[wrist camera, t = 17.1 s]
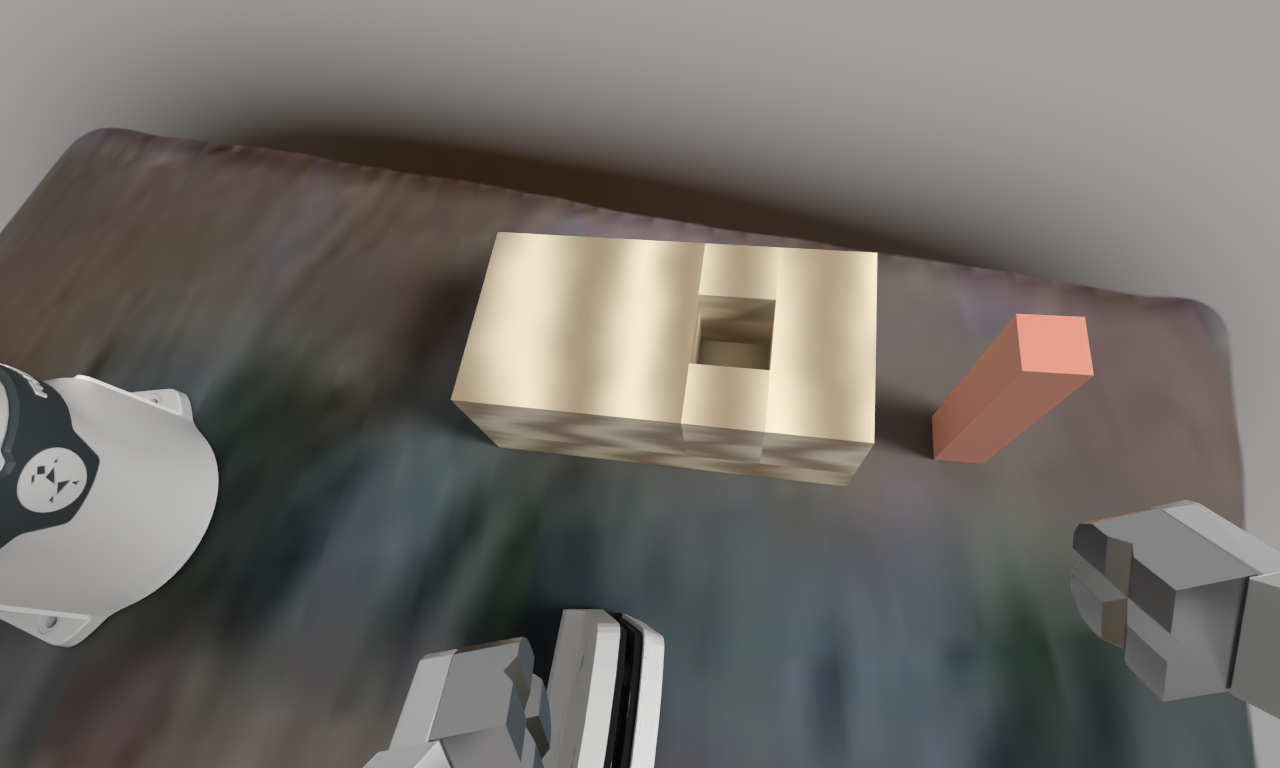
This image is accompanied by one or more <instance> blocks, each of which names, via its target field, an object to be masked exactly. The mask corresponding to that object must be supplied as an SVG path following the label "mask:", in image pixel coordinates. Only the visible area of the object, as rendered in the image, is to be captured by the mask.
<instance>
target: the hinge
mask: <svg viewBox="0 0 1280 768" xmlns="http://www.w3.org/2000/svg"><path fill="white" fill-rule="evenodd" d="M663 660H664V640H663V636H662V635H660V634H659V633H657V632H656V631H654V630H653V629H651V628H650V627H649V626H647V625H646V624H644V623H643V622H641V621H639V620H637V619H635V618H633V617H631V616H628V615H626V614H624V613H623V615H622V618H619V617H616V620H615V619H614V618H613V617H611V616H610V615H609V614H608V613H607V612H605V611H604V610H603V609H564V610H563V614H562V618H561V623H560V628H559V633H558V638H557V643H556V648H555V652H554V657H553V662H552V667H551V672H550V677H549V682H548V687H547V691H546V692H547V697H548V702H549V707H550V718H551V741H550V749H549V750H548V752H547V753H546V754H545V756H544V757H543V759H542V763H543V766H544V768H654V760H655V751H656V742H657V733H658V724H659V714H660V703H661V690H662V675H663Z"/></svg>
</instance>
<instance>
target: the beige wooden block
mask: <svg viewBox="0 0 1280 768" xmlns="http://www.w3.org/2000/svg"><path fill="white" fill-rule="evenodd" d="M876 304H877V253H870V252H852V251H834V250H815V249H797V248H779V247H761V246H742V245H724V244H706V243H688V242H670V241H651V240H633V239H615V238H597V237H578V236H560V235H542V234H524V233H506V232H498V234H497V237H496V241H495V244H494V248H493V251H492V255H491V258H490V262H489V266H488V269H487V273H486V276H485V280H484V283H483V287H482V290H481V294H480V298H479V301H478V305H477V308H476V312H475V315H474V319H473V322H472V326H471V330H470V333H469V337H468V340H467V344H466V347H465V351H464V355H463V358H462V362H461V365H460V369H459V372H458V376H457V379H456V383H455V387H454V390H453V394H452V397H451V401H452V402H453V403H454V404H455V405H456V406H457V407H458V408H459V409H461V410H462V411H463V412H464V413H465V414H466V415H467V416H468V417H469V418H470V419H471V420H472V421H473V422H474V423H475V424H476V425H477V426H478V427H479V428H480V429H481V430H482V431H483V432H484V433H485V434H486V435H487V436H488V437H489V438H490V439H491V440H492V441H493V442H494V443H495V444H496V445H497V446H498V447H503V448H512V449H521V450H530V451H538V452H547V453H556V454H565V455H574V456H582V457H591V458H600V459H609V460H618V461H626V462H635V463H644V464H653V465H662V466H670V467H679V468H688V469H697V470H706V471H714V472H723V473H732V474H741V475H749V476H758V477H767V478H776V479H785V480H793V481H802V482H811V483H820V484H829V485H837V486H847V484H848V483H849V481H850V480H851V478H852V477H853V475H854V474H855V472H856V470H857V469H858V467H859V466H860V464H861V463H862V461H863V460H864V458H865V457H866V455H867V454H868V452H869V451H870V449H871V448H872V446H873V445H874V434H875V369H876Z"/></svg>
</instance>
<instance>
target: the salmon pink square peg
mask: <svg viewBox="0 0 1280 768" xmlns="http://www.w3.org/2000/svg"><path fill="white" fill-rule="evenodd" d="M1092 376H1094V374H1093V367H1092V361H1091V354H1090V348H1089V341H1088V334H1087V328H1086V321H1085V317H1072V316H1051V315H1031V314H1015V316H1014V317H1013V318H1012V319H1011V321H1010V322H1009V323H1008V324H1007V325H1006V327H1005V328H1004V329H1003V330H1002V332H1001V333H1000V334H999V335H998V336H997V338H996V339H995V340H994V341H993V343H992V344H991V345H990V346H989V348H988V349H987V350H986V351H985V352H984V354H983V355H982V356H981V357H980V359H979V360H978V361H977V362H976V363H975V365H974V366H973V367H972V368H971V370H970V371H969V372H968V373H967V374H966V376H965V377H964V378H963V379H962V381H961V382H960V383H959V384H958V385H957V387H956V388H955V389H954V390H953V392H952V393H951V394H950V395H949V396H948V398H947V399H946V400H945V401H944V403H943V404H942V405H941V406H940V408H939V409H938V410H937V411H936V412H935V414H934V415H933V416H932V431H933V452H934V460H943V461H955V462H967V463H979V464H983V463H985V462H986V461H987V460H988V459H990V458H991V457H992V456H993V455H995V454H996V453H997V452H998V451H1000V450H1001V449H1002V448H1003V447H1005V446H1006V445H1007V444H1008V443H1010V442H1011V441H1012V440H1013V439H1015V438H1016V437H1017V436H1018V435H1020V434H1021V433H1022V432H1023V431H1025V430H1026V429H1027V428H1028V427H1030V426H1031V425H1032V424H1033V423H1035V422H1036V421H1037V420H1038V419H1040V418H1041V417H1042V416H1043V415H1045V414H1046V413H1047V412H1048V411H1050V410H1051V409H1052V408H1053V407H1055V406H1056V405H1057V404H1058V403H1060V402H1061V401H1062V400H1063V399H1065V398H1066V397H1067V396H1068V395H1070V394H1071V393H1072V392H1073V391H1075V390H1076V389H1077V388H1078V387H1080V386H1081V385H1082V384H1083V383H1085V382H1086V381H1087V380H1088V379H1090V378H1091V377H1092Z"/></svg>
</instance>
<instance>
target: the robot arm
mask: <svg viewBox="0 0 1280 768" xmlns="http://www.w3.org/2000/svg"><path fill="white" fill-rule="evenodd" d="M217 493H218V468H217V463H216V459H215V456H214V453H213V451H212V449H211V447H210V445H209V443H208V442H207V440H206V439H205V438H204V437H203V435H202V434H201V433H200V432H199V430H198V429H197V428H196V426H195V424H194V422H193V417H192V410H191V405H190V401H189V399H188V397H187V395H186V394H184V393H182V392H179V391H176V390H174V389H161V390H150V391H140V392H127V391H125V390H122V389H119V388H117V387H114V386H112V385H109V384H107V383H104V382H102V381H99V380H97V379H94V378H91V377H88V376H84V375H77V376H75V377H74V378H58V379H52V380H47V381H43V382H42V381H40V380H38V379H35V378H33V377H32V376H30V375H29V374H26V373H25V372H23V371H21V370H18V369H15V368H13V367H10V366H7V365H3V364H0V619H2V620H4V621H5V622H7V623H9V624H11V625H13V626H15V627H17V628H19V629H21V630H23V631H25V632H27V633H29V634H31V635H33V636H35V637H37V638H39V639H41V640H43V641H45V642H47V643H49V644H52V645H56V646H62V647H71V646H74V645H76V644H78V643H79V642H81V641H82V640H84V639H85V638H86V637H87V636H88V635H89V634H91V633H92V632H93V631H94V630H95V629H96V628H97V627H98V626H99V625H100V624H101V623H102V622H103V621H104V620H105V619H106V618H107V617H109V616H110V615H112V614H113V613H115V612H117V611H119V610H121V609H123V608H125V607H127V606H129V605H131V604H133V603H135V602H138V601H139V600H141V599H143V598H145V597H146V596H148V595H150V594H151V593H153V592H154V591H155V590H157V589H158V588H159V587H161V586H162V585H163V584H165V583H166V582H167V581H168V580H169V579H170V578H171V577H172V576H173V575H174V574H175V573H176V572H177V571H178V570H179V569H180V568H181V567H182V566H183V565H184V564H185V562H186V561H187V560H188V559H189V557H190V556H191V555H192V553H193V552H194V550H195V549H196V547H197V546H198V544H199V543H200V541H201V539H202V537H203V536H204V534H205V532H206V530H207V527H208V525H209V523H210V520H211V517H212V515H213V511H214V508H215V504H216V499H217ZM1073 548H1074V549H1075V550H1076V551H1077V552H1078V553H1079V554H1080V556H1081V557H1082V560H1081V561H1080V562H1079V564H1078V565H1077V566H1076V568H1075V569H1074V570H1073V572H1072V594H1073V597H1074V600H1075V602H1076V605H1077V608H1078V611H1079V612H1080V614H1081V615H1082V617H1083V619H1084V620H1085V622H1086V623H1087V625H1088V626H1089V627H1090V628H1091V629H1092V630H1093V631H1094V632H1095V633H1096V634H1097V635H1098V636H1099V637H1100V638H1101V639H1103V640H1105V641H1108V642H1110V643H1112V644H1115V645H1117V646H1119V647H1122V648H1124V662H1125V664H1126V665H1127V666H1128V667H1129V668H1130V669H1131V670H1132V671H1133V672H1134V673H1135V674H1136V675H1137V676H1138V677H1139V678H1140V679H1141V680H1142V681H1143V682H1144V683H1145V684H1146V685H1147V686H1148V687H1149V688H1150V689H1151V690H1152V691H1153V692H1154V693H1155V694H1156V695H1157V696H1158V697H1159V698H1160V699H1161V700H1162V701H1169V700H1175V699H1181V698H1187V697H1193V696H1199V695H1205V694H1211V693H1217V692H1223V691H1229V690H1231V692H1230V694H1232V695H1234V696H1236V697H1238V698H1240V699H1242V700H1244V701H1245V702H1247V703H1249V704H1251V705H1253V706H1255V707H1257V708H1259V709H1261V710H1263V711H1265V712H1267V713H1269V714H1271V715H1273V716H1275V717H1277V718H1279V719H1280V553H1279V552H1278V551H1276V550H1274V549H1273V548H1271V547H1269V546H1268V545H1266V544H1264V543H1263V542H1261V541H1260V540H1258V539H1256V538H1255V537H1253V536H1251V535H1250V534H1248V533H1247V532H1245V531H1243V530H1242V529H1240V528H1238V527H1237V526H1235V525H1234V524H1232V523H1230V522H1229V521H1227V520H1225V519H1224V518H1222V517H1221V516H1219V515H1217V514H1216V513H1214V512H1212V511H1211V510H1209V509H1208V508H1206V507H1204V506H1203V505H1201V504H1199V503H1196V502H1192V501H1188V500H1182V501H1178V502H1174V503H1169V504H1165V505H1160V506H1156V507H1151V508H1149V509H1148V510H1141V511H1137V512H1132V513H1127V514H1122V515H1117V516H1113V517H1108V518H1103V519H1098V520H1094V521H1089V522H1084V523H1079V524H1078V526H1077V528H1076V530H1075V532H1074V537H1073ZM56 620H57V622H56ZM55 622H56V624H55ZM533 666H534V654H533V651H532V649H531V646H530V643H529V641H528V639H526V638H525V637H518V638H513V639H507V640H501V641H496V642H490V643H485V644H479V645H473V646H468V647H462V648H459V649H454V650H449V651H443V652H438V653H432V654H427V655H425V656H424V657H423V658H422V659H421V660H420V662H419V663H418V666H417V669H416V672H415V675H414V678H413V681H412V683H411V686H410V689H409V692H408V695H407V698H406V700H405V703H404V706H403V709H402V712H401V715H400V718H399V720H398V723H397V726H396V729H395V732H394V735H393V737H392V740H391V743H390V746H389V749H388V750H387V751H383V752H378V753H377V754H376V755H375V756H374V757H373V758H372V759H371V760H370V761H369V762H368V763H367V764H366V765H365V766H364V767H363V768H544V766H543V763H542V759H543V757H544V756H545V754H546V753H547V752H548V750H549V749H550V741H551V718H550V707H549V702H548V697H547V692H546V689H545V686H544V683H543V680H542V679H541V678H539V677H538V676H536V675H535V674H533Z"/></svg>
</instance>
